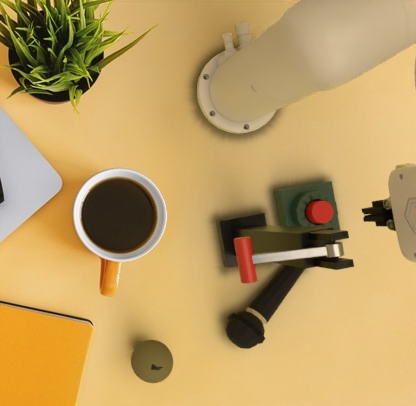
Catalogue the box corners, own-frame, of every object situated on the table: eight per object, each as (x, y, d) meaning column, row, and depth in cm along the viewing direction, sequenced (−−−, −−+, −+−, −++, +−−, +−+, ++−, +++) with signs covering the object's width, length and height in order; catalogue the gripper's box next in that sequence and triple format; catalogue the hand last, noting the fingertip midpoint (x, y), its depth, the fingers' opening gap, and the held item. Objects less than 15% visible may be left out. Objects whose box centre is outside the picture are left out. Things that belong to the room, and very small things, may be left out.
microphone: (294, 235, 86) (214, 332, 82) (307, 225, 80) (222, 328, 76) (324, 258, 84) (244, 358, 80) (339, 249, 79) (255, 355, 75)
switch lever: (234, 238, 63) (233, 239, 61) (338, 224, 59) (340, 225, 57) (241, 281, 63) (240, 284, 61) (346, 270, 59) (348, 273, 57)
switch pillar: (216, 220, 82) (304, 222, 56) (261, 212, 82) (368, 211, 57) (224, 267, 82) (316, 289, 56) (269, 258, 82) (379, 277, 57)
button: (303, 203, 79) (310, 202, 77) (324, 199, 79) (331, 198, 78) (307, 224, 79) (314, 225, 77) (328, 221, 79) (335, 221, 78)
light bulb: (127, 372, 80) (142, 394, 70) (117, 335, 80) (130, 352, 70) (163, 360, 81) (183, 381, 71) (153, 324, 81) (171, 339, 71)
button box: (273, 190, 83) (286, 189, 79) (323, 181, 83) (338, 180, 79) (282, 242, 83) (295, 244, 79) (332, 233, 83) (348, 234, 79)
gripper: (451, 133, 48) (333, 157, 66) (482, 301, 48) (355, 279, 66) (529, 119, 49) (391, 147, 67) (561, 286, 48) (413, 268, 67)
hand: (373, 213), depth 66 cm, fingers closed
